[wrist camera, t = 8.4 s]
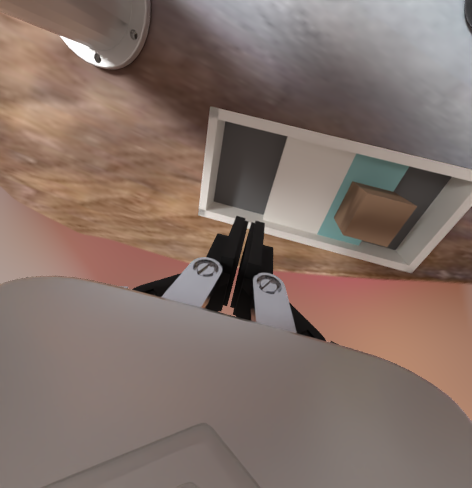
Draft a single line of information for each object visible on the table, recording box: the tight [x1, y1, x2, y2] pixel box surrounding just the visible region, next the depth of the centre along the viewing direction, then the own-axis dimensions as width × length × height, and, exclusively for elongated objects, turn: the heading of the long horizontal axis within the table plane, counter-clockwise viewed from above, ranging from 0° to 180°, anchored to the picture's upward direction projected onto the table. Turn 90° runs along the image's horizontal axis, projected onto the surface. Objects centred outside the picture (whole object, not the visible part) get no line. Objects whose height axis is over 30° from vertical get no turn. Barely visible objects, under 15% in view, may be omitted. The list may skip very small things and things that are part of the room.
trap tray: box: [198, 106, 472, 273], centre depth 26 cm, size 13×30×4 cm, turn 78°
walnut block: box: [334, 181, 417, 247], centre depth 24 cm, size 5×5×5 cm
